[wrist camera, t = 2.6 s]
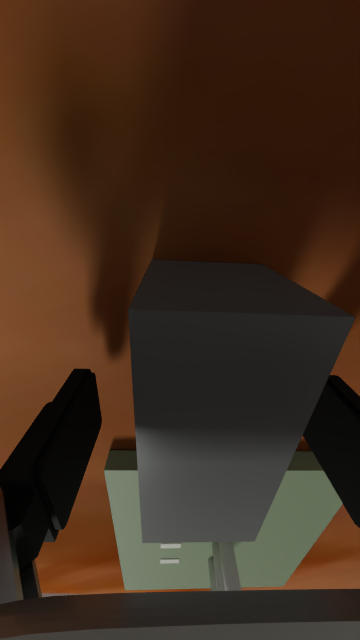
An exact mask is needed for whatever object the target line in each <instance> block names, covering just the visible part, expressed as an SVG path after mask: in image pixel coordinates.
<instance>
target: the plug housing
mask: <svg viewBox="0 0 360 640" xmlns="http://www.w3.org/2000/svg"><path fill="white" fill-rule="evenodd" d="M128 315H129V331H130V348H131V365H132V381H133V398H134V415H135V431H136V448H137V465H138V481H139V498H140V515H141V531H142V543H186V542H255V540H256V538H257V535H258V533H259V531H260V529H261V526H262V524H263V522H264V520H265V518H266V515H267V513H268V511H269V509H270V506H271V504H272V502H273V500H274V498H275V495H276V493H277V491H278V489H279V486H280V484H281V482H282V480H283V478H284V475H285V473H286V471H287V469H288V466H289V464H290V462H291V460H292V457H293V455H294V453H295V451H296V449H297V446H298V444H299V442H300V440H301V437H302V435H303V433H304V431H305V429H306V426H307V424H308V422H309V420H310V417H311V415H312V413H313V411H314V409H315V406H316V404H317V402H318V400H319V397H320V395H321V393H322V391H323V388H324V386H325V384H326V382H327V380H328V377H329V375H330V373H331V371H332V368H333V366H334V364H335V362H336V360H337V357H338V355H339V353H340V351H341V348H342V346H343V344H344V342H345V340H346V337H347V335H348V333H349V331H350V328H351V326H352V324H353V322H354V319H355V317H354V316H353V315H351V314H349V313H347V312H346V311H344V310H342V309H340V308H339V307H337V306H335V305H333V304H332V303H330V302H328V301H326V300H324V299H323V298H321V297H319V296H317V295H316V294H314V293H312V292H310V291H309V290H307V289H305V288H303V287H302V286H300V285H298V284H296V283H295V282H293V281H291V280H289V279H288V278H286V277H284V276H282V275H281V274H279V273H277V272H275V271H274V270H272V269H270V268H268V267H267V266H265V265H263V264H243V263H221V262H200V261H178V260H156V259H152V260H151V262H150V264H149V266H148V268H147V270H146V273H145V275H144V277H143V279H142V281H141V283H140V285H139V287H138V290H137V292H136V294H135V296H134V298H133V300H132V302H131V304H130V306H129V309H128Z"/></svg>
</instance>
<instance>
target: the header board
mask: <svg viewBox="0 0 360 640" xmlns="http://www.w3.org/2000/svg"><path fill="white" fill-rule="evenodd" d="M104 472H105V478H106V484H107V490H108V495H109V501H110V507H111V512H112V518H113V524H114V529H115V535H116V541H117V547H118V552H119V558H120V564H121V569H122V575H123V581H124V587H125V590H151V589H192V588H211V591H242V590H241V587H275V586H284V584H285V583H286V581H287V580H288V579H289V577H290V576H291V575H292V573H293V572H294V570H295V569H296V568H297V566H298V565H299V563H300V562H301V561H302V559H303V558H304V557H305V555H306V554H307V552H308V551H309V550H310V548H311V547H312V546H313V544H314V543H315V541H316V540H317V539H318V537H319V536H320V534H321V533H322V532H323V530H324V529H325V528H326V526H327V525H328V523H329V522H330V521H331V519H332V518H333V517H334V515H335V514H336V512H337V511H338V510H339V508H340V507H341V505H342V504H343V503H342V501H341V500H340V498H339V496H338V494H337V493H336V491H335V489H334V488H333V486H332V484H331V483H330V481H329V479H328V477H327V476H326V474H325V472H324V471H323V469H322V467H321V466H320V464H319V462H318V460H317V459H316V457H315V455H314V454H313V452H312V451H295V453H294V455H293V457H292V460H291V462H290V464H289V466H288V469H287V471H286V473H285V475H284V478H283V480H282V482H281V484H280V486H279V489H278V491H277V493H276V495H275V498H274V500H273V502H272V504H271V506H270V509H269V511H268V513H267V515H266V518H265V520H264V522H263V524H262V526H261V529H260V531H259V533H258V535H257V538H256V540H255V542H186V543H142V531H141V515H140V498H139V481H138V465H137V450H110V451H109V454H108V458H107V462H106V466H105V469H104Z"/></svg>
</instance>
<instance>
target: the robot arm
mask: <svg viewBox="0 0 360 640" xmlns="http://www.w3.org/2000/svg"><path fill="white" fill-rule="evenodd" d="M101 423H102V417H101V411H100V404H99V397H98V390H97V383H96V376H95V373H91V370H90V369H74V370H73V371H72V372H71V374H70V375H69V377H68V379H67V380H66V382H65V383H64V385H63V386H62V388H61V389H60V391H59V392H58V394H57V395H56V397H55V398H54V400H53V401H52V402H49V403H47V404H46V405H45V406H44V407H43V409H42V410H41V412H40V413H39V414H38V416H37V417H36V419H35V420H34V422H33V423H32V425H31V426H30V427H29V429H28V430H27V432H26V433H25V435H24V436H23V438H22V439H21V441H20V442H19V443H18V445H17V446H16V448H15V449H14V451H13V452H12V454H11V455H10V456H9V458H8V459H7V461H6V462H5V464H4V465H3V467H2V468H1V469H0V640H360V589H308V590H245V591H193V592H147V593H111V594H89V595H67V596H50V597H42V594H41V589H40V584H39V579H38V574H37V569H36V564H35V558H36V557H37V556H38V554H39V551H40V549H41V546H42V544H43V542H55V540H56V537H57V535H58V532H59V530H63V529H64V528H65V526H66V524H67V522H68V519H69V516H70V513H71V510H72V507H73V505H74V502H75V499H76V496H77V493H78V490H79V488H80V485H81V482H82V479H83V476H84V473H85V471H86V468H87V465H88V462H89V459H90V456H91V454H92V451H93V448H94V445H95V442H96V439H97V437H98V434H99V431H100V428H101ZM303 437H304V438H305V440H306V442H307V443H308V445H309V447H310V449H311V450H312V452H313V454H314V455H315V457H316V459H317V460H318V462H319V464H320V466H321V467H322V469H323V471H324V472H325V474H326V476H327V477H328V479H329V481H330V483H331V484H332V486H333V488H334V489H335V491H336V493H337V494H338V496H339V498H340V500H341V501H342V503H343V505H344V506H345V508H346V510H347V511H348V513H349V515H350V517H351V518H352V520H353V521H354V523H355V524H356V525H357V526H358V527H359V528H360V396H359V395H358V394H357V393H355V392H354V391H353V390H352V389H351V388H350V387H349V386H348V385H347V384H346V383H345V382H344V381H343V380H342V379H341V378H340V377H339V376H336V375H329V377H328V380H327V382H326V384H325V386H324V388H323V391H322V393H321V395H320V397H319V400H318V402H317V404H316V406H315V409H314V411H313V413H312V415H311V417H310V420H309V422H308V424H307V426H306V429H305V431H304V433H303Z"/></svg>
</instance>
